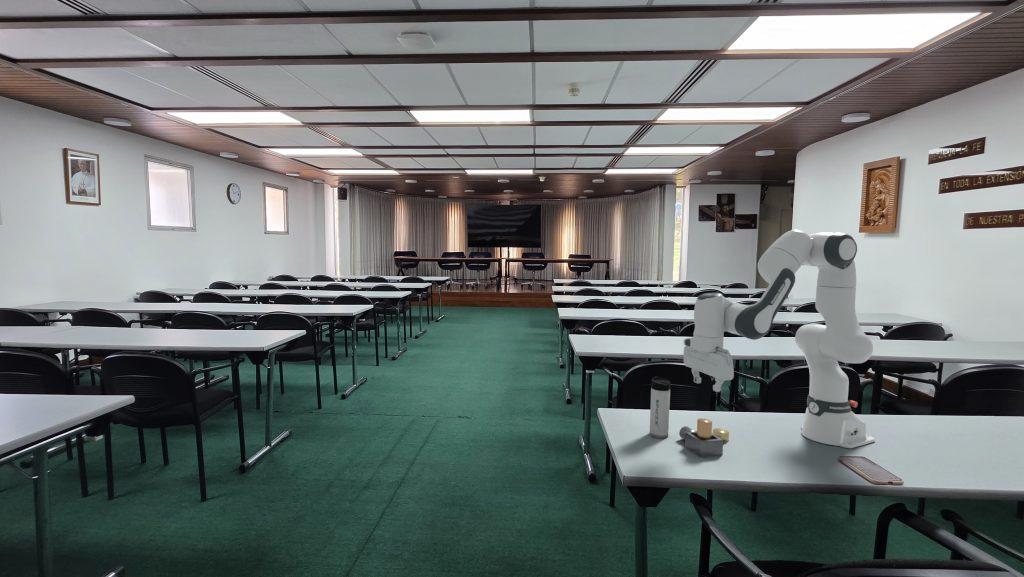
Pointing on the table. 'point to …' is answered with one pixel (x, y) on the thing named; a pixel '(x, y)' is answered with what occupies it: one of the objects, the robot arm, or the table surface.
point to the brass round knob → (721, 434)
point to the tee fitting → (701, 443)
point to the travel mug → (659, 407)
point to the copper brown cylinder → (704, 429)
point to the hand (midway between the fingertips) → (706, 386)
